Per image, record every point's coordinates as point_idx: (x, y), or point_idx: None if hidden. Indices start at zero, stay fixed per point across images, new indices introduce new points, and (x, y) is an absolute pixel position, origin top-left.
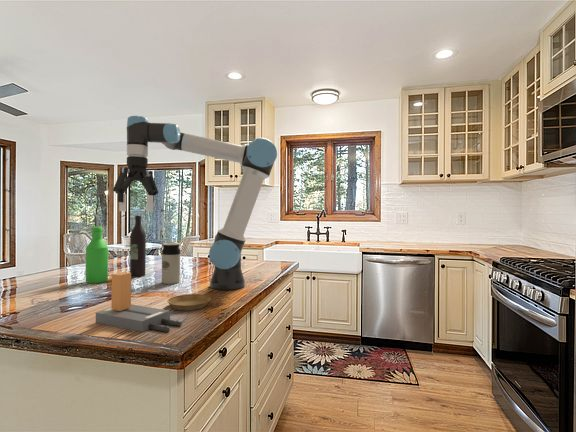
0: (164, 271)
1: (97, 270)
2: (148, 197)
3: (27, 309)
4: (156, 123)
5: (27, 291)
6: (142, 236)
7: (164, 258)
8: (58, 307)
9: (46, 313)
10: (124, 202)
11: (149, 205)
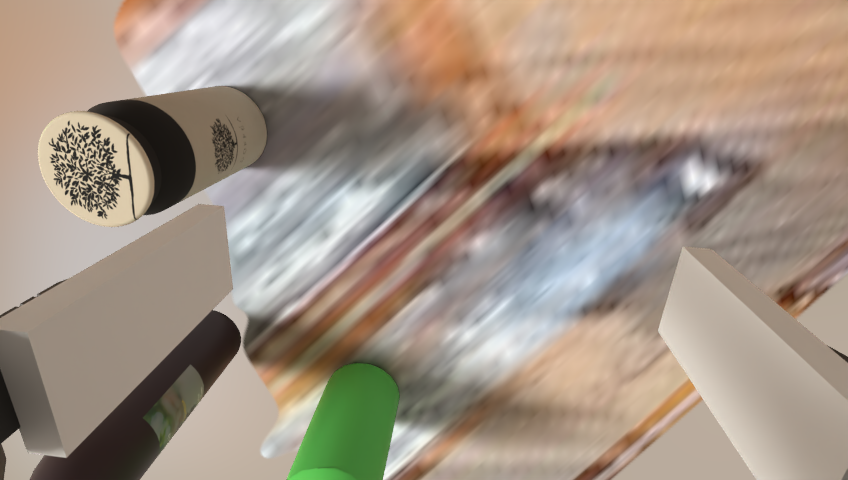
0: (242, 144)
1: (377, 401)
2: (91, 387)
3: None
4: None
5: (556, 462)
6: (85, 441)
7: (207, 159)
8: (707, 230)
9: (781, 205)
10: (785, 314)
11: (184, 281)
